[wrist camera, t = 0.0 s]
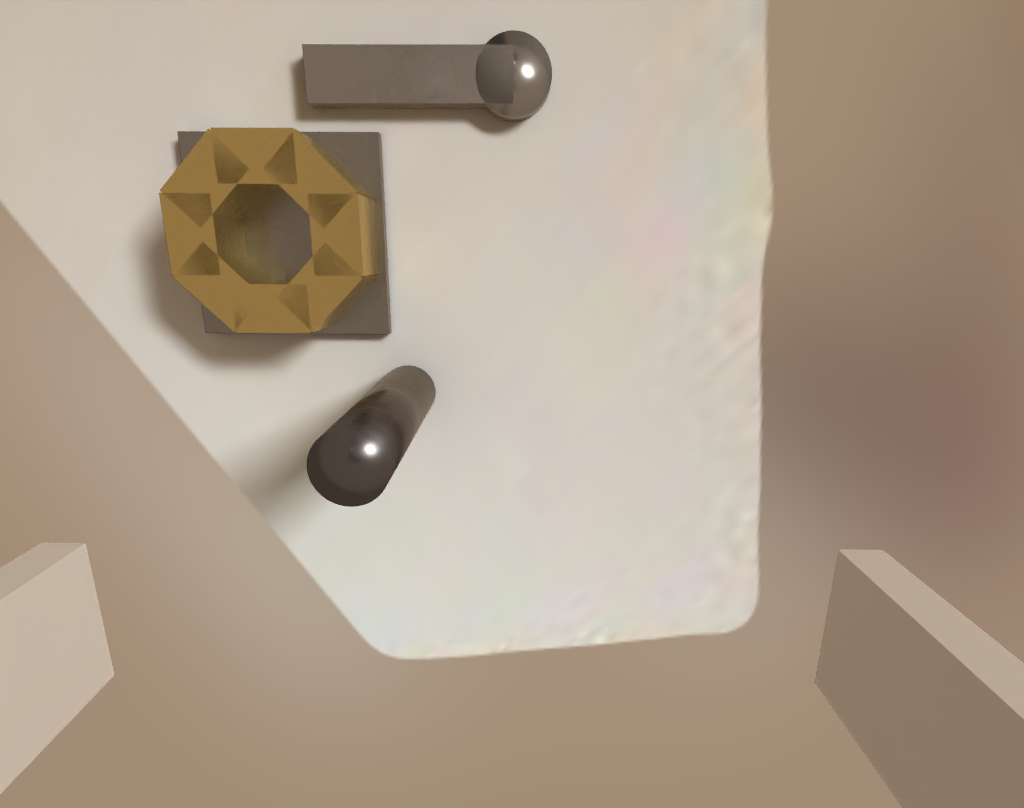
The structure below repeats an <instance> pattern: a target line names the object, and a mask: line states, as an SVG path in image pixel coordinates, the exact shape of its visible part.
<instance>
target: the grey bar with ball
mask: <svg viewBox="0 0 1024 808" xmlns="http://www.w3.org/2000/svg"><path fill="white" fill-rule="evenodd" d="M302 49H303V61H304V72H305V84H306V96H307V103H308V104H309V105H310V106H312V107H313V108H383V109H487V110H488V111H489V112H491V113H492V114H493V115H494V116H496V117H498V118H500V119H502V120H506V121H513V122H514V121H521V120H525V119H527V118H529V117H531V116H533V115H534V114H535V113H537V112H538V111H539V110H540V108H541V107H542V106H543V104H544V103H545V101H546V99H547V97H548V94H549V90H550V85H551V80H552V68H551V62H550V59H549V56H548V54H547V52H546V50H545V48H544V47H543V45H542V44H541V43H540V42H539V41H538V40H537V39H536V38H534V37H533V36H531V35H530V34H527V33H525V32H521V31H506V32H502V33H500V34H498V35H496V36H494V37H493V38H492V39H490V40H489V41H488V42H487V43H486V44H485V45H333V44H302Z"/></svg>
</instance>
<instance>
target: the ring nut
mask: <svg viewBox="0 0 1024 808" xmlns="http://www.w3.org/2000/svg"><path fill="white" fill-rule="evenodd" d="M177 132H178V139H179V146H180V153H181V160H182V163H181V164H180V165H179V167H178V168H177V169H176V170H175V172H174V173H173V174H172V176H171V177H170V178H169V179H168V181H167V182H166V183H165V184H164V186H163V187H162V188H161V190H160V191H161V192H162V193H159V195H160V201H161V208H162V214H163V221H164V228H165V234H166V241H167V247H168V254H169V260H170V267H171V274H172V275H174V277H173V278H174V279H175V280H177V281H178V282H179V283H180V284H181V285H182V286H183V287H184V288H186V289H187V290H188V291H189V292H190V293H191V294H192V295H193V296H194V297H196V298H197V299H198V300H199V301H200V302H201V303H202V310H203V317H204V324H205V331H206V333H310V334H390V333H391V316H390V297H389V278H388V259H387V239H386V220H385V201H384V181H383V162H382V143H381V134H380V133H379V132H299V131H297V130H296V129H293V128H211V130H210V129H208V130H207V131H206V132H186V131H177Z"/></svg>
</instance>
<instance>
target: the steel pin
mask: <svg viewBox="0 0 1024 808" xmlns="http://www.w3.org/2000/svg"><path fill="white" fill-rule="evenodd" d="M434 399H435V385H434V383H433V381H432V379H431V377H430V376H429V375H428V374H427V373H426V372H425V371H424V370H422V369H420V368H418V367H415V366H401V367H398V368H396V369H394V370H392V371H391V372H390V373H389V374H388V375H387V376H386V377H385V378H384V379H383V380H381V381H380V382H379V383H378V384H377V385H376V386H375V387H374V388H373V389H372V390H371V391H370V392H368V393H367V394H366V395H365V396H364V397H363V398H362V399H361V400H360V401H359V402H358V403H357V404H355V405H354V406H353V407H352V408H351V409H350V410H349V411H348V412H347V413H346V414H345V415H344V416H342V417H341V418H340V419H339V420H338V421H337V422H336V423H335V424H334V425H333V426H332V427H331V428H329V429H328V430H327V431H326V432H325V433H324V434H323V435H322V436H321V437H320V438H319V439H317V440H316V442H315V443H314V444H313V445H312V447H311V449H310V451H309V453H308V457H307V472H308V476H309V479H310V481H311V483H312V485H313V486H314V488H315V489H316V490H317V491H318V492H319V493H320V494H321V495H322V496H323V497H324V498H326V499H327V500H329V501H331V502H333V503H335V504H338V505H342V506H360V505H364V504H367V503H369V502H371V501H373V500H374V499H376V498H377V497H378V496H379V495H380V494H381V493H382V492H383V490H384V489H385V487H386V486H387V484H388V482H389V480H390V478H391V477H392V475H393V473H394V471H395V470H396V468H397V466H398V464H399V463H400V461H401V459H402V457H403V456H404V454H405V452H406V450H407V448H408V447H409V445H410V443H411V441H412V440H413V438H414V436H415V434H416V433H417V431H418V429H419V427H420V426H421V424H422V422H423V420H424V418H425V417H426V415H427V413H428V411H429V410H430V408H431V406H432V404H433V402H434Z"/></svg>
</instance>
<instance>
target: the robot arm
mask: <svg viewBox="0 0 1024 808" xmlns="http://www.w3.org/2000/svg"><path fill="white" fill-rule="evenodd" d="M113 676H114V671H113V667H112V662H111V658H110V653H109V648H108V644H107V639H106V635H105V631H104V626H103V621H102V617H101V613H100V608H99V603H98V599H97V594H96V589H95V585H94V580H93V576H92V571H91V567H90V562H89V558H88V553H87V549H86V544H85V543H41V544H39V545H38V546H36V547H34V548H33V549H31V550H29V551H28V552H26V553H24V554H23V555H21V556H19V557H18V558H16V559H14V560H13V561H11V562H10V563H8V564H6V565H5V566H3V567H1V568H0V794H1V793H2V792H3V791H4V790H5V789H6V788H7V787H8V786H9V785H10V784H11V782H12V781H13V780H14V779H15V778H16V777H17V776H18V775H19V774H20V773H21V772H22V771H23V770H24V769H25V768H26V767H27V766H28V765H29V764H30V763H31V762H32V760H34V759H35V757H36V756H37V755H38V754H39V753H40V752H41V751H42V750H43V749H44V748H45V747H46V746H47V745H48V744H49V743H50V742H51V741H52V740H53V739H54V738H55V737H56V736H57V735H58V733H59V732H60V731H61V730H62V729H63V728H64V727H65V726H66V725H67V724H68V723H69V722H70V721H71V720H72V719H73V718H74V717H75V716H76V715H77V713H78V712H80V710H81V709H82V708H83V707H84V706H85V705H86V704H87V703H88V702H89V701H90V700H91V699H92V698H93V697H94V696H95V695H96V694H97V693H98V692H99V691H100V689H102V687H103V686H104V685H105V684H106V683H107V682H108V681H109V680H110V679H111V678H112V677H113ZM815 683H816V685H817V686H818V688H819V689H820V690H821V692H822V693H823V695H824V696H825V698H826V699H827V700H828V702H829V703H830V705H831V706H832V708H833V709H834V711H835V712H836V713H837V715H838V716H839V718H840V719H841V721H842V722H843V723H844V725H845V726H846V727H847V729H848V731H849V732H850V733H851V735H852V736H853V738H854V739H855V740H856V742H857V743H858V745H859V746H860V748H861V749H862V751H863V752H864V753H865V755H866V756H867V758H868V759H869V761H870V762H871V763H872V765H873V766H874V767H875V769H876V771H877V772H878V773H879V774H880V776H881V778H882V779H883V781H884V782H885V783H886V785H887V786H888V788H889V789H890V790H891V792H892V793H893V795H894V796H895V798H896V799H897V801H898V802H899V803H900V805H901V806H902V808H1024V663H1022V662H1021V661H1020V660H1019V659H1017V658H1016V657H1015V656H1014V655H1012V654H1011V653H1010V652H1009V651H1007V650H1006V649H1005V648H1004V647H1002V646H1001V645H1000V644H999V643H997V642H996V641H995V640H994V639H993V638H991V637H990V636H989V635H988V634H986V633H985V632H983V631H982V630H981V629H980V628H979V627H977V626H976V625H975V624H974V623H972V622H971V621H970V620H969V619H968V618H966V617H965V616H964V615H963V614H961V613H960V612H959V611H958V610H956V609H955V608H954V607H952V605H950V604H949V603H948V602H946V601H945V600H944V599H943V598H942V597H940V596H939V595H938V594H937V593H935V592H934V591H933V590H932V589H930V588H929V587H928V586H927V585H925V584H924V583H923V582H922V581H920V580H919V579H918V578H917V577H915V576H914V575H913V574H912V573H910V572H909V571H908V570H906V569H905V568H904V567H903V566H902V565H901V564H899V563H898V562H897V561H896V560H894V559H893V558H892V557H891V556H889V555H888V554H887V553H886V552H884V551H883V550H838V555H837V561H836V566H835V572H834V577H833V583H832V589H831V594H830V599H829V605H828V611H827V616H826V622H825V627H824V633H823V639H822V644H821V650H820V655H819V661H818V666H817V672H816V678H815Z"/></svg>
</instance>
